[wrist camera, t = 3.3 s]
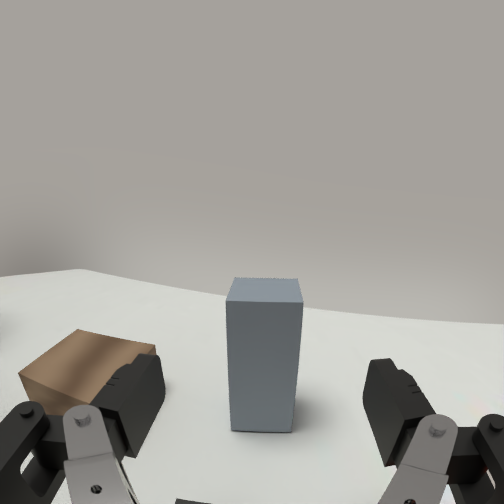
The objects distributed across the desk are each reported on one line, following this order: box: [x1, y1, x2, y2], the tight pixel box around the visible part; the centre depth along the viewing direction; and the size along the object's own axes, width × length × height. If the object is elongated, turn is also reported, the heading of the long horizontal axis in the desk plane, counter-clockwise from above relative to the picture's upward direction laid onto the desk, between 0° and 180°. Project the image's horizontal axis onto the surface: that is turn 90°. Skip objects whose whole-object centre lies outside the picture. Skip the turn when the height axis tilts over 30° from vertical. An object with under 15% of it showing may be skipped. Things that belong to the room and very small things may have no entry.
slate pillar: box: [226, 278, 303, 432], centre depth 23 cm, size 5×5×12 cm
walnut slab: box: [18, 329, 156, 416], centre depth 24 cm, size 10×10×5 cm
